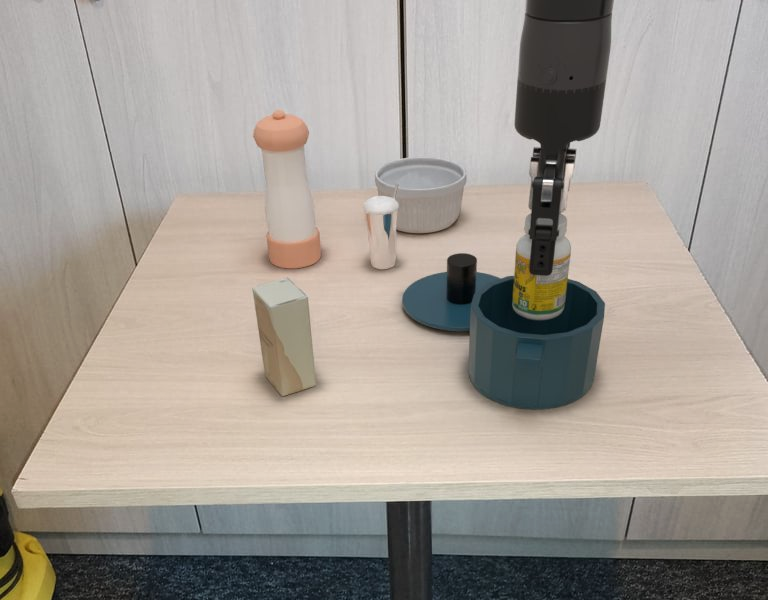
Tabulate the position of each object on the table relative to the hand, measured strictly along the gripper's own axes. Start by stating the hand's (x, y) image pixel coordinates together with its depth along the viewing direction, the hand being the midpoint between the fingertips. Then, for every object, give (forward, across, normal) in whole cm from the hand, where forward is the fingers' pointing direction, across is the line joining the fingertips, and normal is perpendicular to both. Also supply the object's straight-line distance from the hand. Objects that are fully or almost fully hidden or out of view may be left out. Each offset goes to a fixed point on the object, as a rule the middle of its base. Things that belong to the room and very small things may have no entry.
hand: (543, 259), depth 81 cm
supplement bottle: (+6, 0, 0) cm, 6 cm away
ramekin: (+14, +39, +20) cm, 46 cm away
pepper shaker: (+14, +24, +35) cm, 45 cm away
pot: (+13, 0, 0) cm, 13 cm away
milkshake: (+14, +24, +22) cm, 35 cm away
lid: (+13, +14, +10) cm, 22 cm away
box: (+14, -6, +26) cm, 30 cm away
